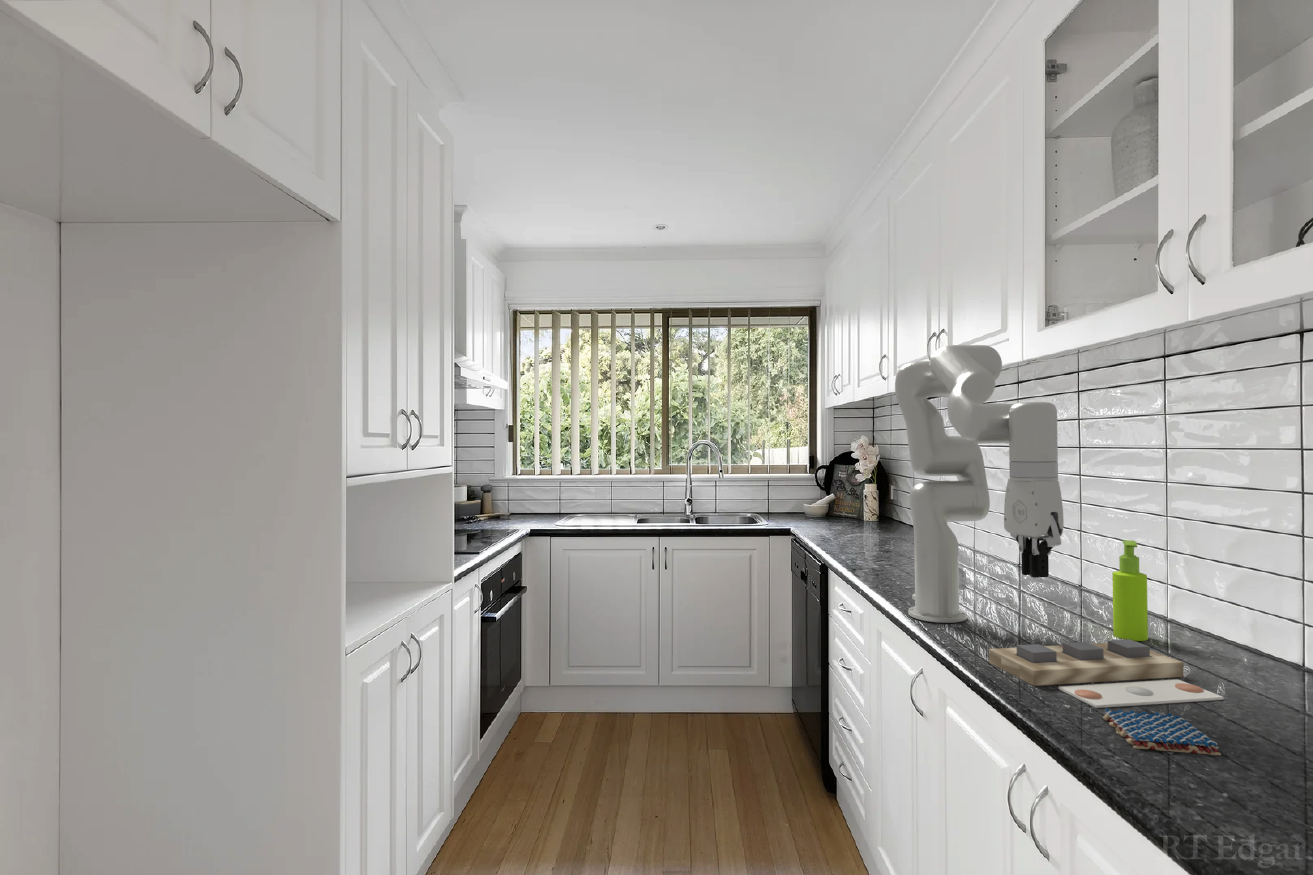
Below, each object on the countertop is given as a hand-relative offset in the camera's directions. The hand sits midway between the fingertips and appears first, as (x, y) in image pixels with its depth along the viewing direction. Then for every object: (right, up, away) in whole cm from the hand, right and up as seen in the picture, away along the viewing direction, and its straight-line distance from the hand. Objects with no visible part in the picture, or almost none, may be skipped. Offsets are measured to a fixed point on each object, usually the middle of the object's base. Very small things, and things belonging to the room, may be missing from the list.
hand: (1035, 575), depth 119 cm
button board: (+9, -17, +1) cm, 19 cm away
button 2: (+9, -15, +1) cm, 18 cm away
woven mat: (+2, -18, -26) cm, 32 cm away
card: (+11, -17, -11) cm, 23 cm away
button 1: (0, -15, 0) cm, 15 cm away
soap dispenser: (+31, -17, +20) cm, 41 cm away
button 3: (+18, -15, +2) cm, 24 cm away
